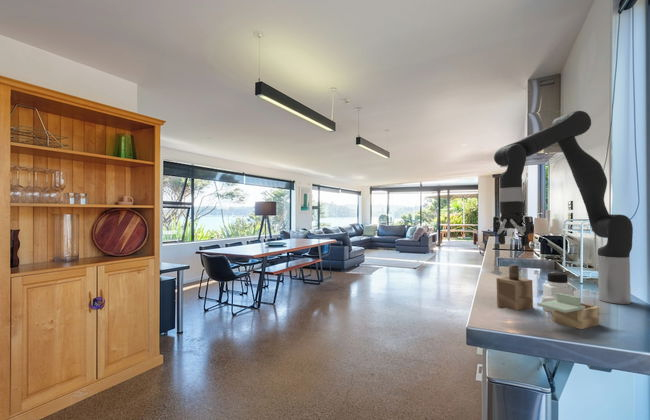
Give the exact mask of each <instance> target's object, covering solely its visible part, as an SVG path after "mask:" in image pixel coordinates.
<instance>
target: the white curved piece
mask: <svg viewBox="0 0 650 420" xmlns="http://www.w3.org/2000/svg"><path fill="white" fill-rule="evenodd" d="M540 298H541V303H542V302H547V301H553V300H557V297H552V296H543V295H542V296H541V297H540ZM542 310H543V311H544V312H548V313H552V309H549V308H545V307H542Z"/></svg>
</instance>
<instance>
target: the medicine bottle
mask: <svg viewBox="0 0 650 420" xmlns="http://www.w3.org/2000/svg"><path fill="white" fill-rule="evenodd" d="M568 282H569V281H568V274H567V273H565V272H560V271H551V272H548V273H547V283H542V297H543V296H552V297H556V293H562V294H566V295H571V296H574V288H573V287H571V286H568Z"/></svg>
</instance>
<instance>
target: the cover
mask: <svg viewBox="0 0 650 420" xmlns="http://www.w3.org/2000/svg"><path fill="white" fill-rule="evenodd" d="M519 269H520V267H519V265H518V264H509V265H508V274H509V275H508V276H504V277H496V307H497V308H499V309H500V308H501V309H505V308H507V309H511V310H514V311H523V310H528V309H532V308H534V298H533V297H534V294H533V289H534V287H533V280H532V279H529V278H523V277H520V274H519V273H520V272H519Z"/></svg>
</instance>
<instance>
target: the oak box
mask: <svg viewBox="0 0 650 420" xmlns="http://www.w3.org/2000/svg"><path fill="white" fill-rule="evenodd" d="M581 305H582V306H585V309H581V310H577V311H572V312H567V313H564V312H561V311H557V310H553V309H552V312H551V317H552V318H551V320H552V322H554V323H558V324H562V325H564V326H569V327H572V328H576V329H579V330H584V329H588V328H591V327H595V326H600V307H599V306H595V305H593V304H592V305H591V304H589V303H588V304H586V303H583V302H581Z"/></svg>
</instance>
